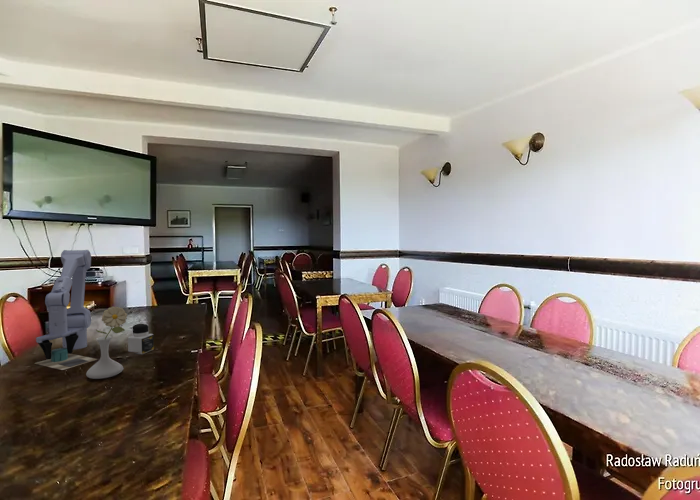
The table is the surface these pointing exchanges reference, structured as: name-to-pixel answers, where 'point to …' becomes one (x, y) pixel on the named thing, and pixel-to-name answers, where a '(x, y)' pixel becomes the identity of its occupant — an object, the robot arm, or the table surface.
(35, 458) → the table surface
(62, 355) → the cap
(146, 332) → the medicine bottle
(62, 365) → the board
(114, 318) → the flower in vase
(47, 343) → the robot arm
